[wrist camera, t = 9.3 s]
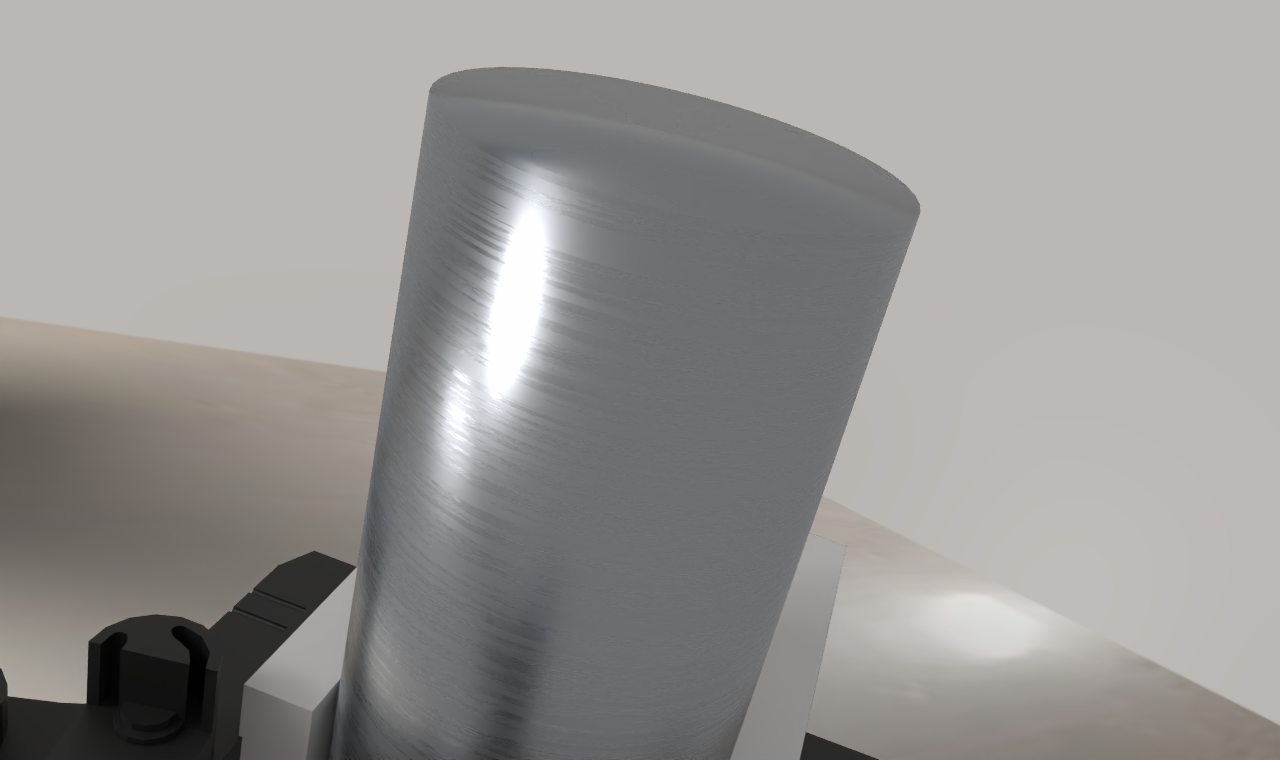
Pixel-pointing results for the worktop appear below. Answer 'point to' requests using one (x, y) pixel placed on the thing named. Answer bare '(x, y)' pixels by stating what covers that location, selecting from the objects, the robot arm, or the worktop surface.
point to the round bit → (604, 417)
